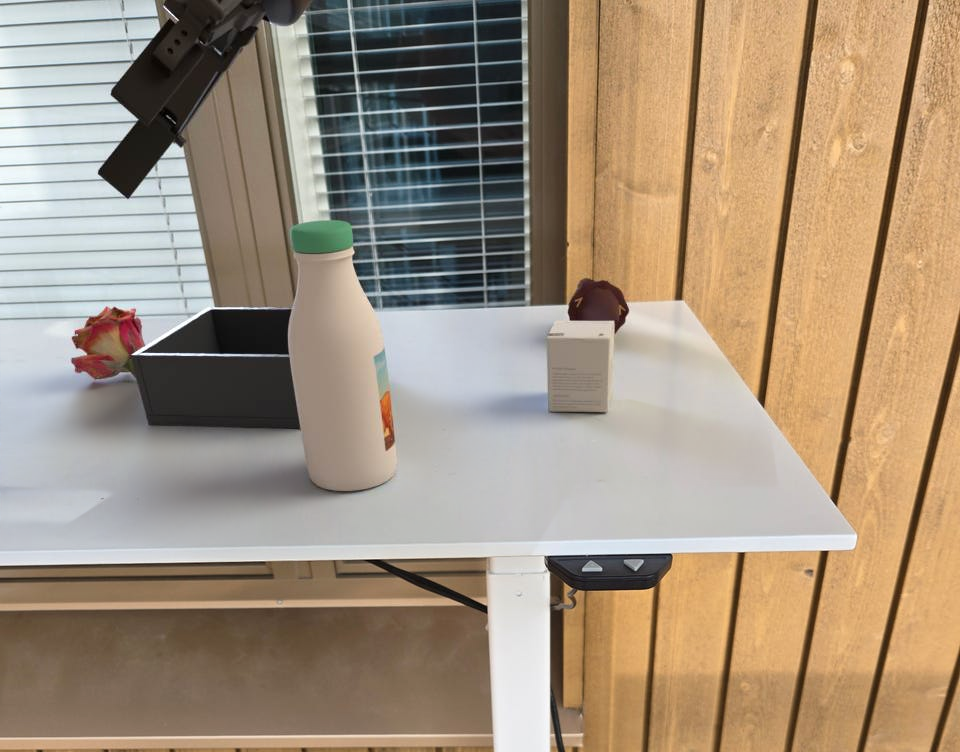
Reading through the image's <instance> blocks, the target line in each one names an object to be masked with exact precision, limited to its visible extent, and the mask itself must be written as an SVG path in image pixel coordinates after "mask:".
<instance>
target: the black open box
mask: <svg viewBox="0 0 960 752" xmlns="http://www.w3.org/2000/svg"><path fill="white" fill-rule="evenodd" d="M292 308H293V307H206V308H205V309H203V310H201V311H199V312H198V313H197V314H195V315H193V316H191V317H190V318H189V319H187V320H185V321H183V322H182V323H181V324H179V325H177V326H175V327H174V328H172V329H171V330H169V331H167V332H166V333H164V334H162V335H160V336H159V337H157V338H156V339H154V340H152V341H151V342H150V343H148V344H145V347H143V348H141V349H140V350H138V351H136V352H135V353H133V354H132V355H130V357H131V361H132V365H133V368H134V372H135V376H136V378H135V380H136V384H137V387H138V390H139V394H140V398H141V401H142V406H143V409H144V413H145V418H146V421H147V425H148V426H149V425H150V426H183V427H184V426H186V427H219V428H220V427H221V428H222V427H225V428H226V427H227V428H263V429H264V428H265V429H300V430H301V428H300V422H299V416H298V410H297V403H296V397H295V391H294V384H293V378H292V372H291V364H290V356H289V348H288V327H289V320H290V316H291V311H292Z"/></svg>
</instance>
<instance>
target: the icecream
mask: <svg viewBox="0 0 960 752" xmlns="http://www.w3.org/2000/svg"><path fill="white" fill-rule="evenodd" d="M576 286H577V287H576V290H575V291H574V293H573V295H572V297H571V299H570V301H569V302H568V308H567V315H568V318H569V319H568V321H614V323H615V328H614V336H616V334H617V333H618V331H619V330H620V328H622V327H623V325H625V323H626V321H627V316H628V315H629V314H630V308H629V305H628V303H627V301H626V299H625V296H624V294H623V293H624V292H623V291H622V290H621V289H620V288H619V287H617V286H615V285H614V284H612V283H611V282H609V280H606V279H605V280H604V279H602V280H601V279H600V280H599V281H598V280H597V281H595V279H592V278H588V277H585V278H582V279H580V280H579V282H578V283H577V285H576Z"/></svg>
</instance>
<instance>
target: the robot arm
mask: <svg viewBox="0 0 960 752" xmlns="http://www.w3.org/2000/svg"><path fill="white" fill-rule="evenodd" d="M313 1H314V0H164V2H163V8H164V9H165V10H166V11H168V13H169V14H170V15H172V16H173V17H174V19H176V20H177V21H176V23H175V22H174V21H173V19H171V18H170V17H169V18H168V19H167V20H166V22H165V23H164V24H163V25H162V26H161V28H160V29H159V30H158V32H157V33H156V34H155V35H154V37H153V38H152V39H151V40H150V41H149V43H148V44H147V45H146V46H145V48H144V49H143V50H142V52H141V53H140V54H139V55H138V56H137V57H136V59H135V60H134V61H133V62H132V64H131V65H130V66H129V67H128V68H127V69H126V71H125V72H124V74H123V75H122V76H121V77H120V78H119V80H118V81H117V82H116V83H115V85H114V86H113V87H112V88H111V89H110V96H111V97H112V98H113V99H114V100H116V101H117V102H118V103H119V104H120V105H121V106H122V107H123V108H124V109H126V110H127V111H128V112H129V113H130V114H131V115H132V116H133V117H134V118H136V119H137V121H136V122H135V123H134V125H133V126H132V127H131V128H130V129H129V131H128V132H127V133H126V135H124V137H123V139H121V141H120V142H119V143H118V144H117V146H116V147H115V148H114V150H113V151H112V152H111V153H110V155H108V157H107V158H106V159H105V161H104V162H103V163H102V165H101V166H99V168H98V169H97V175H98V176H99V177H101V178H102V180H104V181H105V182H107V183H108V184H109V185H110V186H111V187H112V188H114V189H115V190H116V191H117V192H119V194H121V195H122V196H123V197H125V198H126V199H127V200H129V199H130V198H131V197H132V195H133V194H134V193H135V192H136V191H137V189H138V187H139V186H140V185H142V182H143V181H144V180H145V179H146V177H147V176H148V175H149V174H150V172H151V171H152V170H153V168H154V167H155V166H156V164H157V163H158V162H159V161H160V160H161V158H162V157H163V156H164V155H165V153H166V152H167V151H168V149H169V148H170V147H171V146H172V144H174V145H176V146H178V148H180V149H182V148H183V147H184V146H185V145H186V143H187V140H186V139H185V138H184V137H183V134H184V132H185V131H186V129H187V128H188V127H189V125H190V123H191V122H192V120H193V119H194V118H195V116H196V115H197V113H198V112H199V111H200V109H201V107H202V106H203V104H205V102H206V100H207V99H208V98H209V96H210V94H211V93H212V91H213V90H214V89H215V87H216V86H217V84H218V83H219V81H220V80H221V78H222V77H223V76H224V75H225V72H227V71H229V70H230V68H231V67H232V65H233V64H234V62H235V61H236V59H237V58H238V56H239V55H240V54H241V53H243V51H244V47H246V46H249V45H250V44H251V42H252V41H253V39H254V38H255V36H256V35H257V34H258V32H259V27H258V25H259V23H261V21H265V22H268V23H269V24H271V25H274V26H278V27H289V26H292V25H294V24H295V23H297V21H299V19H300V18H301V17H302V15H303V14H304V13H305V11H307V9H308V7H310V5H311V4H312V3H313Z"/></svg>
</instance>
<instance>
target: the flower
mask: <svg viewBox="0 0 960 752" xmlns="http://www.w3.org/2000/svg"><path fill="white" fill-rule="evenodd" d="M136 312H137V308H134V307H133V308H131V309H130V310H129V309H120V308H117V307H116V306H113V307H112V308H111V307H109V306H105V307H104V309H102V311H101V312H100V313H99V314H98V315H95V316H89V317H88V319H87V320H86V322H85V325H84V326H83V328H78V329H75V330H74V335H72V336H71V341H72V342H73V345H74V347H75V349H76V350H77V351H78V350H79V349H80V350H82V351H83V352H84V353H85V354H86V355H80V356H75V357H71V358H70V363H71V364H72V365H73V366H74V372H75V373H76V374H78V373H79V374H81V373H83V372H84V373H86V374H88V375H89V376H90V377H91V378H92V379H94V381H96V380H102V379H104V380H105V379H109V378H113V377H114V378H115V377H116V376H118V375H119V374H120V373H130V374H131V375H132V376H133V378H134V379H136V376H135V372H134V368H133V365H132V361H131V357H130V355H132V354H133V353H135V352H136V351H138V350H140V349H141V348H143V347H145V346H146V344H145V341H144V338H143V332H142V331H143V325H142V320H141V318H139V317H138V316H136Z"/></svg>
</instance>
